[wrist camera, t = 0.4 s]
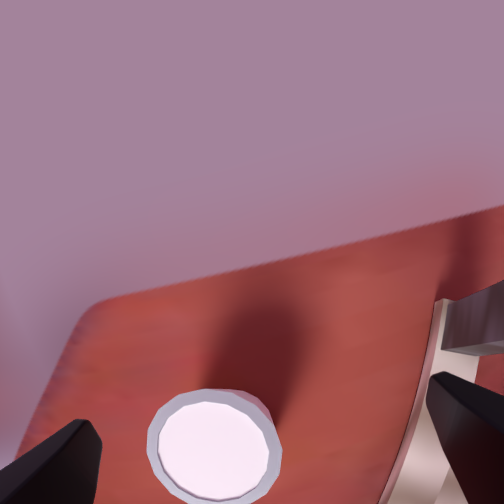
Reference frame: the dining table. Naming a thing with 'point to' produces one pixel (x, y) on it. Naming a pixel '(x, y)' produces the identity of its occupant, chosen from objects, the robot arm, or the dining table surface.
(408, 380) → the dining table surface
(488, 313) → the tray with upright post
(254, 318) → the dining table surface
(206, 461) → the shot glass
